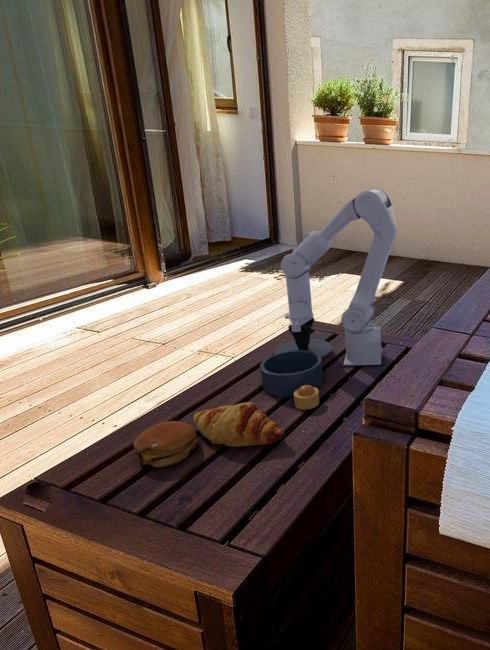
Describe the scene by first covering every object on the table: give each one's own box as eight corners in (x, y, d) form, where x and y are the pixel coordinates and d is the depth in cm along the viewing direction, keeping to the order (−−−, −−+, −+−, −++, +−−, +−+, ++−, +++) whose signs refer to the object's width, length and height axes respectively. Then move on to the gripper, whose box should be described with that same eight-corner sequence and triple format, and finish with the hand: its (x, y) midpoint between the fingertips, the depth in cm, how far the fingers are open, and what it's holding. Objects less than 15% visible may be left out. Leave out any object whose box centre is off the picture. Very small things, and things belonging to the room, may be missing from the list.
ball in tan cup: (321, 397, 105) (319, 379, 104) (317, 409, 100) (316, 391, 99) (297, 397, 105) (295, 380, 103) (292, 410, 100) (290, 392, 98)
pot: (326, 369, 118) (324, 349, 117) (317, 395, 106) (316, 374, 104) (271, 370, 117) (268, 350, 116) (255, 397, 105) (252, 376, 103)
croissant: (187, 447, 93) (164, 426, 87) (216, 404, 99) (197, 382, 94) (279, 467, 86) (260, 446, 81) (303, 420, 93) (288, 397, 87)
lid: (335, 341, 133) (334, 324, 131) (328, 364, 119) (326, 345, 117) (282, 342, 132) (280, 325, 130) (269, 365, 118) (267, 347, 116)
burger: (198, 432, 92) (194, 411, 90) (197, 460, 84) (193, 437, 82) (139, 445, 88) (134, 423, 86) (133, 475, 80) (127, 451, 78)
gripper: (289, 290, 127) (294, 337, 131) (276, 308, 113) (282, 359, 118) (316, 290, 127) (319, 336, 132) (306, 307, 114) (310, 358, 118)
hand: (303, 347), depth 125 cm, fingers closed on lid, 2 cm apart
